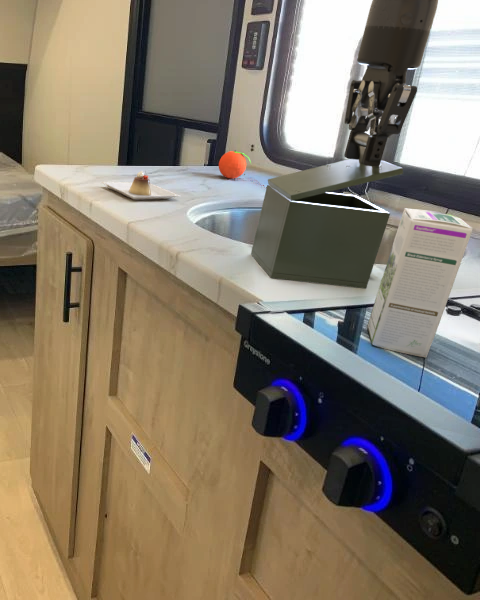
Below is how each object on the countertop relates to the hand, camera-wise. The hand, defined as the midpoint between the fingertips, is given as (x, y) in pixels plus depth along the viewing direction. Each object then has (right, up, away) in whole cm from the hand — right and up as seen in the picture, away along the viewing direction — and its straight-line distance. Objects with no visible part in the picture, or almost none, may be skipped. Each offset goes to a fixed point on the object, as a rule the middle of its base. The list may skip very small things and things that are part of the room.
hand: (360, 161), depth 82 cm
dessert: (-26, +3, +42) cm, 50 cm away
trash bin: (-5, -15, +6) cm, 17 cm away
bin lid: (-4, -2, +1) cm, 4 cm away
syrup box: (-3, -24, -15) cm, 28 cm away
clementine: (+1, +12, +73) cm, 74 cm away
